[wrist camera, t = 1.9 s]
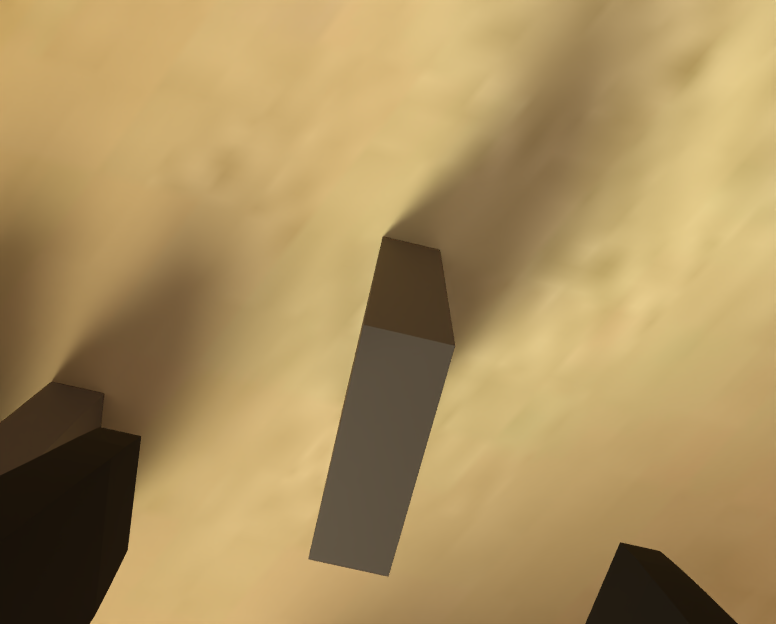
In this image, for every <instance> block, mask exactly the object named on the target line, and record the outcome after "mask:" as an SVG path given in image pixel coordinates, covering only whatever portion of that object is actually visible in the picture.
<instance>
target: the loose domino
mask: <svg viewBox="0 0 776 624" xmlns="http://www.w3.org/2000/svg"><path fill="white" fill-rule="evenodd" d="M454 348H455V342H454V336H453V329H452V323H451V317H450V310H449V304H448V298H447V291H446V285H445V279H444V273H443V266H442V260H441V254H440V250H438V249H433V248H429V247H425V246H421V245H417V244H412V243H408V242H404V241H400V240H396V239H391V238H387V237H383V238H382V242H381V247H380V251H379V255H378V259H377V264H376V268H375V272H374V276H373V281H372V285H371V289H370V293H369V298H368V302H367V306H366V311H365V315H364V319H363V323H362V328H361V332H360V336H359V340H358V345H357V349H356V353H355V358H354V362H353V366H352V370H351V375H350V379H349V383H348V387H347V392H346V396H345V400H344V405H343V409H342V413H341V418H340V422H339V427H338V431H337V435H336V440H335V444H334V449H333V453H332V457H331V462H330V466H329V471H328V475H327V479H326V484H325V488H324V493H323V497H322V501H321V506H320V510H319V515H318V519H317V523H316V528H315V532H314V537H313V541H312V545H311V550H310V554H309V559H310V560H314V561H319V562H323V563H328V564H333V565H337V566H342V567H346V568H351V569H356V570H360V571H365V572H369V573H374V574H379V575H383V576H389V573H390V570H391V566H392V563H393V559H394V556H395V552H396V549H397V545H398V542H399V538H400V535H401V531H402V528H403V525H404V521H405V518H406V514H407V511H408V507H409V504H410V500H411V497H412V493H413V490H414V487H415V483H416V480H417V476H418V473H419V469H420V466H421V462H422V459H423V455H424V452H425V448H426V445H427V442H428V438H429V435H430V431H431V428H432V424H433V421H434V417H435V414H436V410H437V407H438V403H439V400H440V397H441V393H442V390H443V386H444V383H445V379H446V376H447V372H448V369H449V365H450V362H451V359H452V355H453V352H454Z"/></svg>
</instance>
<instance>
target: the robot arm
mask: <svg viewBox="0 0 776 624" xmlns="http://www.w3.org/2000/svg"><path fill="white" fill-rule="evenodd" d="M140 441H141V436H137V435H133V434H128V433H124V432H119V431H115V430H110V429H106V428H101V427H99V428H96V429H94V430H92V431H90V432H87V433H85V434H83V435H81V436H79V437H77V438H75V439H73V440H71V441H69V442H67V443H65V444H63V445H61V446H59V447H57V448H55V449H53V450H51V451H49V452H47V453H45V454H43V455H41V456H39V457H37V458H35V459H33V460H31V461H29V462H27V463H25V464H23V465H21V466H19V467H16V468H14V469H12V470H10V471H8V472H6V473H4V474H2V475H0V624H90V622H91V621H92V619H93V618H94V616H95V614H96V612H97V610H98V608H99V607H100V605H101V603H102V601H103V599H104V597H105V595H106V593H107V591H108V589H109V587H110V585H111V583H112V581H113V579H114V577H115V575H116V573H117V571H118V569H119V567H120V565H121V563H122V561H123V559H124V556H125V554H126V552H127V550H128V542H129V534H130V525H131V517H132V509H133V500H134V492H135V483H136V475H137V467H138V458H139V450H140ZM586 624H738V623H736V622H735V621H734V620H733V619H732V618H731V617H730V616H729V615H728V614H727V613H726V612H725V611H724V610H723V609H722V608H721V607H720V606H719V605H718V604H717V603H716V602H715V601H714V600H713V599H712V598H711V597H710V596H709V595H708V594H707V593H706V592H705V591H704V590H702V589H701V588H700V587H699V586H698V585H697V584H696V583H695V582H694V581H693V580H692V579H691V578H690V577H689V576H688V575H687V574H686V573H684V572H683V571H682V570H681V569H680V568H679V567H678V566H677V565H676V564H674V563H673V562H672V561H671V560H670V559H669V558H667V557H666V556H665V555H664V554H663V553H661V552H660V551H657V550H652V549H648V548H643V547H639V546H634V545H630V544H625V543H621V542H620V544H619V547H618V549H617V551H616V554H615V556H614V558H613V561H612V563H611V565H610V568H609V570H608V572H607V575H606V577H605V579H604V582H603V584H602V586H601V589H600V591H599V593H598V596H597V598H596V600H595V603H594V605H593V607H592V610H591V612H590V614H589V617H588V619H587V621H586Z"/></svg>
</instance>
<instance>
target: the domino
mask: <svg viewBox="0 0 776 624" xmlns="http://www.w3.org/2000/svg"><path fill="white" fill-rule="evenodd" d="M103 400H104V393H100V392H95V391H91V390H86V389H82V388H77V387H73V386H68V385H64V384H59V383H55V382H50V383H49V384H48V385H47V386H45V387H44V388H43V389H42V390H40V391H39V392H38V393H37V394H35V395H34V396H33V397H32V398H30V399H29V400H28V401H27V402H25V403H24V404H23V405H22V406H21V407H19V408H18V409H17V410H16V411H14V412H13V413H12V414H11V415H9V416H8V417H7V418H6V419H4V420H3V421H2V422H1V423H0V475H2V474H4V473H6V472H8V471H10V470H12V469H14V468H16V467H19V466H21V465H23V464H25V463H27V462H29V461H31V460H33V459H35V458H37V457H39V456H41V455H43V454H45V453H47V452H49V451H51V450H53V449H55V448H57V447H59V446H61V445H63V444H65V443H67V442H69V441H71V440H73V439H75V438H77V437H79V436H81V435H83V434H85V433H87V432H90V431H92V430H94V429H96V428H99V427H101V421H102V411H103Z"/></svg>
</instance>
